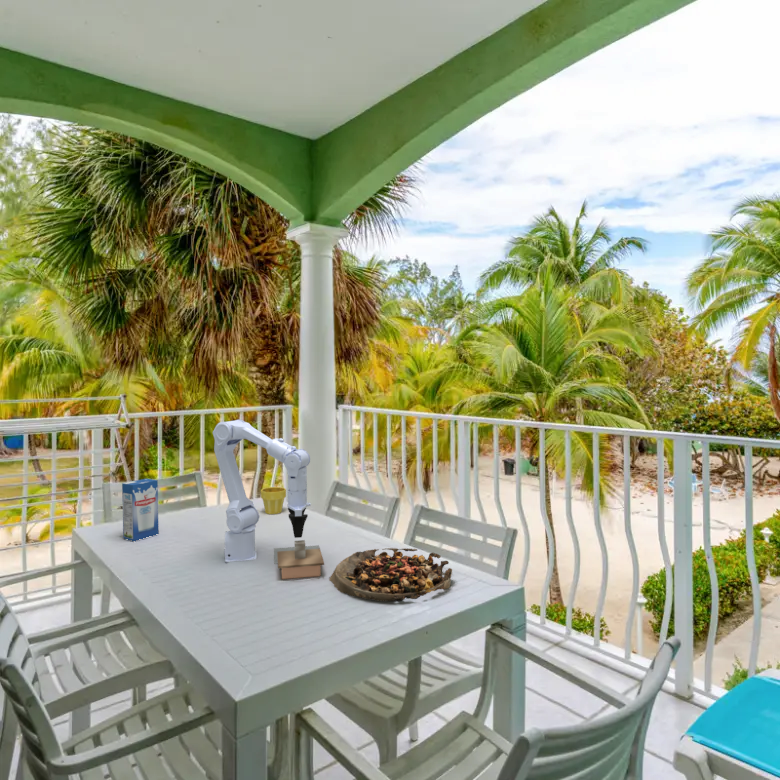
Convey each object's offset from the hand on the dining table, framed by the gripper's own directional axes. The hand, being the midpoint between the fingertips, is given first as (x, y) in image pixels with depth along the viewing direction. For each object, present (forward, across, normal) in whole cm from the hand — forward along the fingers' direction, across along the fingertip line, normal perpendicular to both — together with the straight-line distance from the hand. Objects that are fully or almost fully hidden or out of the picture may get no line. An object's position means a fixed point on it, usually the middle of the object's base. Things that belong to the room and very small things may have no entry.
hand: (297, 533), depth 171 cm
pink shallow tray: (+10, -6, 0) cm, 12 cm away
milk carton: (+10, +41, +54) cm, 69 cm away
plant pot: (+10, +66, +7) cm, 67 cm away
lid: (+6, -6, 0) cm, 9 cm away
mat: (+10, +9, 0) cm, 13 cm away
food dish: (+10, -17, -26) cm, 32 cm away
